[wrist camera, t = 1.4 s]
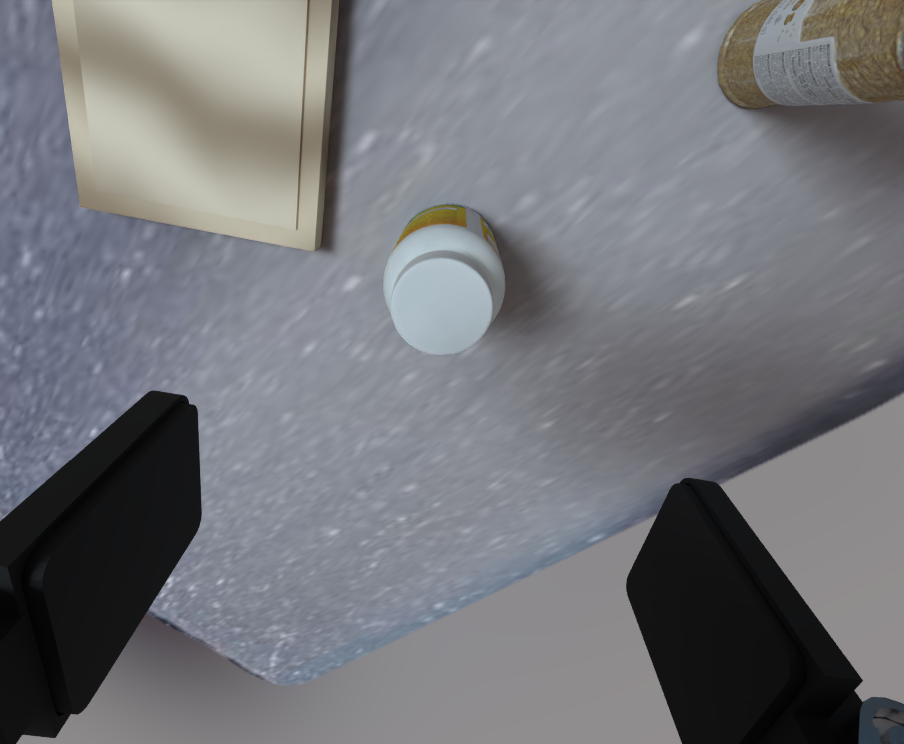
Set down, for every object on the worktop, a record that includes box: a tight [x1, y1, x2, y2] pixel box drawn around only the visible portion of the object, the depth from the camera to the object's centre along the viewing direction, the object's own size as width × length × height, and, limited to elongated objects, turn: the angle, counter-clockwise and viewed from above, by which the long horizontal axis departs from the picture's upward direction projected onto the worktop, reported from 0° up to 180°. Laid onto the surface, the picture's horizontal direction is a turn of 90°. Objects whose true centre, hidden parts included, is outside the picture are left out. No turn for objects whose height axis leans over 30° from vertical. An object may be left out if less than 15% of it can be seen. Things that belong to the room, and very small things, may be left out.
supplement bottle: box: [383, 204, 505, 355], centre depth 24 cm, size 5×5×10 cm
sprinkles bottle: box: [718, 0, 904, 108], centre depth 18 cm, size 5×5×14 cm
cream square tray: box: [52, 0, 339, 252], centre depth 24 cm, size 12×12×2 cm
